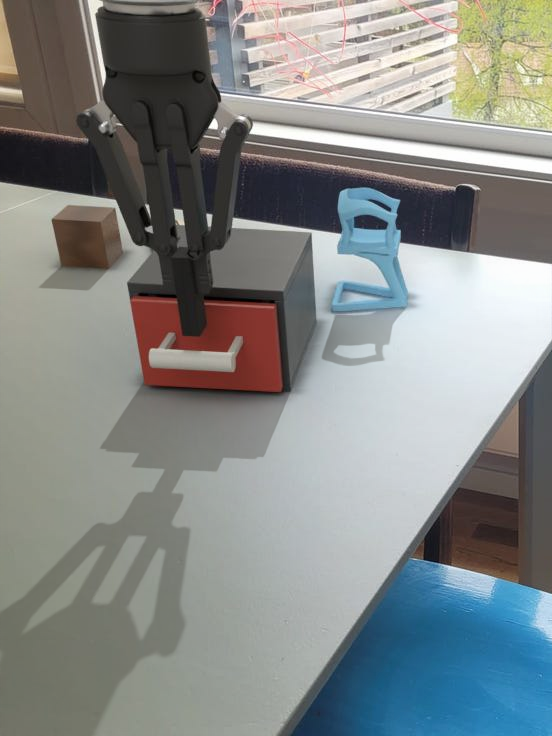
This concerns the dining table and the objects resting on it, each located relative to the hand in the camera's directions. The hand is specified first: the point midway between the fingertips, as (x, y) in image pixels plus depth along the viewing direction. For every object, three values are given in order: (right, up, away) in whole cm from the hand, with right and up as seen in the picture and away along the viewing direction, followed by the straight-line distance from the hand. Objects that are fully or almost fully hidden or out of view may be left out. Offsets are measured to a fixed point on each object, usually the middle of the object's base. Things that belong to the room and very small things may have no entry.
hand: (194, 329), depth 85 cm
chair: (+12, +12, +28) cm, 33 cm away
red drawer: (0, 0, +11) cm, 11 cm away
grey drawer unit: (0, +2, +15) cm, 16 cm away
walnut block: (-22, +19, +34) cm, 45 cm away
